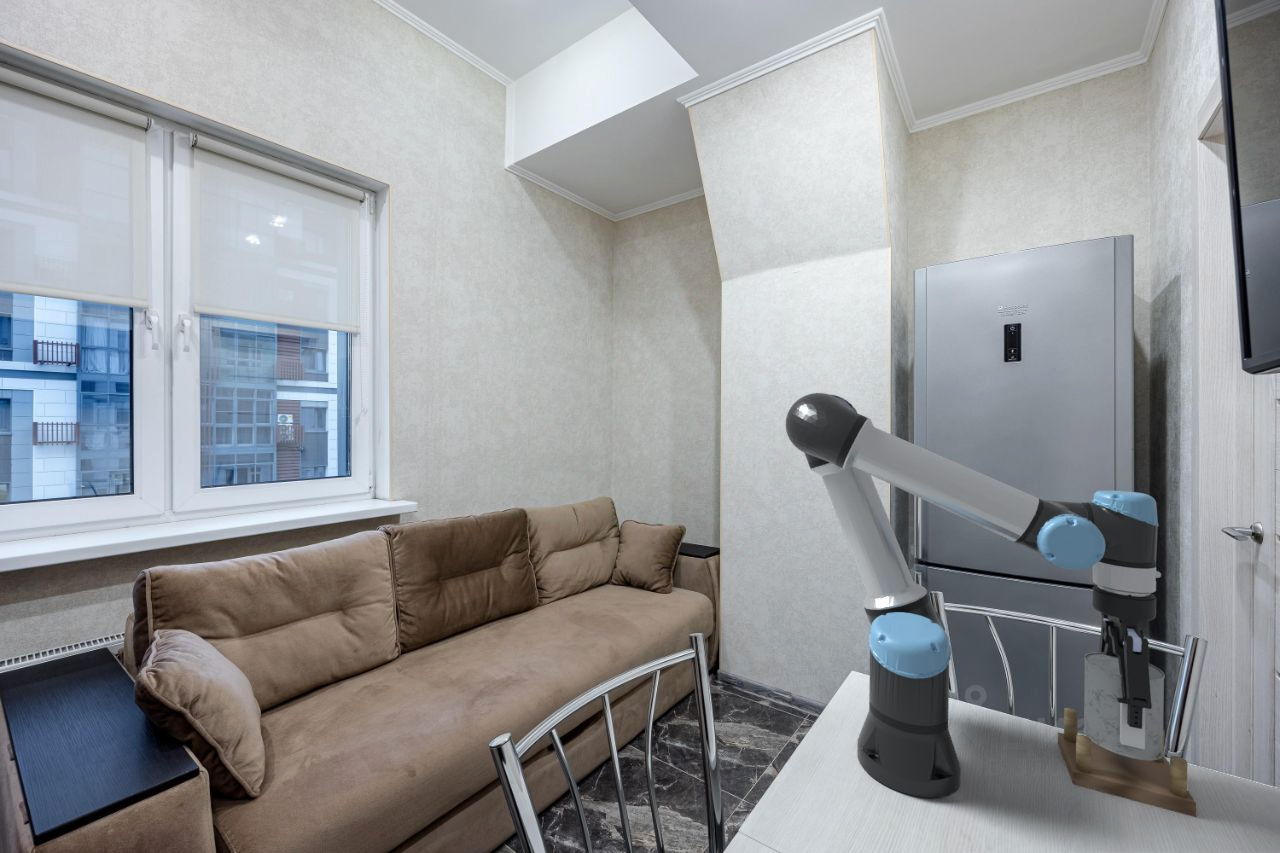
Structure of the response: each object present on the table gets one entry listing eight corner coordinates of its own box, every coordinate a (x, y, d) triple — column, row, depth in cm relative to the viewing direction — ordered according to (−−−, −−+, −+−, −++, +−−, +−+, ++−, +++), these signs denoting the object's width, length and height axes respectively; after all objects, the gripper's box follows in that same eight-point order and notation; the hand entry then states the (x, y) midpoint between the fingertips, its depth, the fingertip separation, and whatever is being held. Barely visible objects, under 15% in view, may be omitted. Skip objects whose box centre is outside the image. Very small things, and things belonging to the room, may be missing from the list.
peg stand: (1073, 784, 84) (1073, 740, 84) (1057, 743, 94) (1058, 704, 94) (1196, 816, 77) (1197, 768, 77) (1164, 769, 87) (1165, 726, 87)
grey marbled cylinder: (1181, 764, 80) (1182, 682, 80) (1107, 756, 82) (1108, 676, 82) (1135, 728, 89) (1136, 654, 89) (1070, 721, 91) (1071, 649, 91)
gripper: (1184, 615, 74) (1181, 776, 74) (1132, 574, 93) (1130, 702, 93) (1113, 606, 77) (1111, 759, 78) (1077, 568, 97) (1076, 691, 97)
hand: (1121, 728), depth 85 cm, fingers closed on grey marbled cylinder, 9 cm apart
